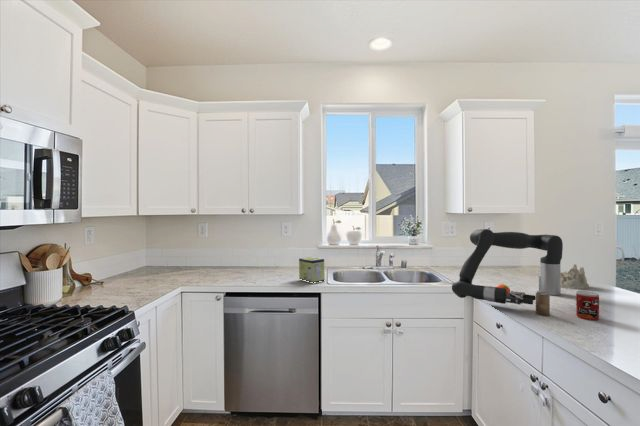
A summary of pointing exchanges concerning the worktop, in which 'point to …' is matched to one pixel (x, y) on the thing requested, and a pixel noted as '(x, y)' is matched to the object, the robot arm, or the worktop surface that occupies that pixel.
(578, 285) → the beige irregular lump
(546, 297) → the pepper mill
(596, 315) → the canned food
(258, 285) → the worktop surface
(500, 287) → the clementine
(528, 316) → the worktop surface
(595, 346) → the worktop surface
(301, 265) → the protein box
